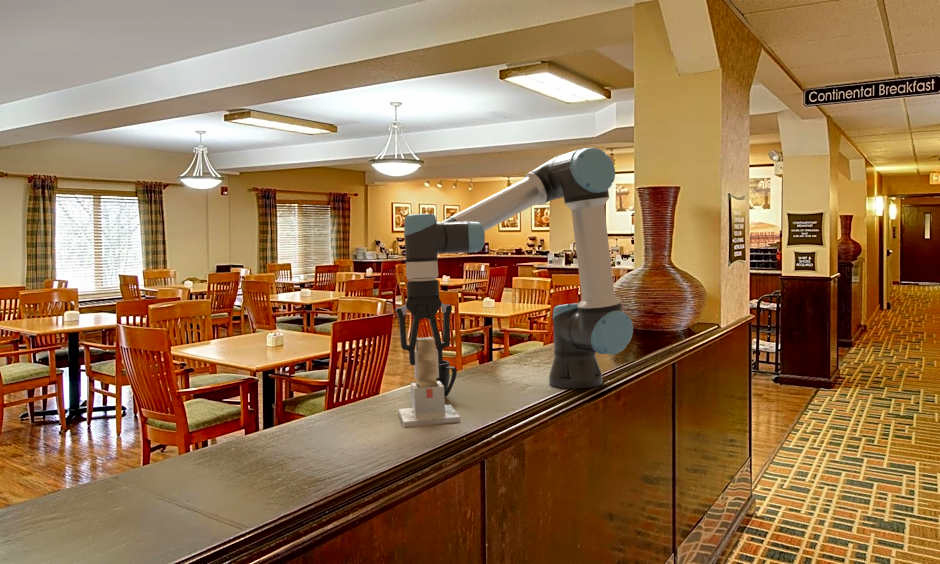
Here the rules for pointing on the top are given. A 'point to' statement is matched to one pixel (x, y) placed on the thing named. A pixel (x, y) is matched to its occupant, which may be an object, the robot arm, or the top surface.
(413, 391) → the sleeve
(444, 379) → the mug
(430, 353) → the post
